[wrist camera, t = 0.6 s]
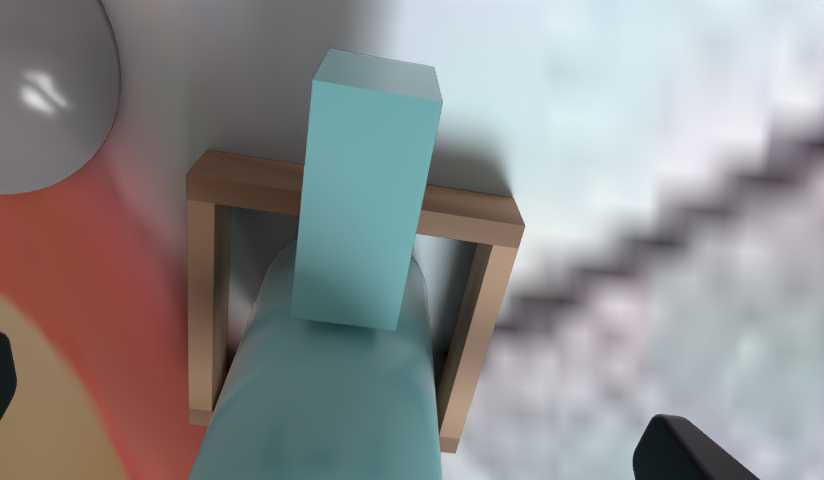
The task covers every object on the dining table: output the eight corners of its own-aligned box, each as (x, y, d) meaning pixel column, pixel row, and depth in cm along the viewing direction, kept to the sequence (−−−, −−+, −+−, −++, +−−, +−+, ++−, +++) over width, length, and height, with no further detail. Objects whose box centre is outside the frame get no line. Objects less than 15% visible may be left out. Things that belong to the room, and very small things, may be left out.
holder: (451, 414, 24) (455, 453, 22) (205, 386, 23) (189, 424, 21) (513, 198, 19) (525, 226, 17) (206, 149, 18) (186, 174, 16)
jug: (412, 371, 23) (419, 630, 14) (258, 352, 22) (174, 611, 14) (485, 56, 17) (569, 185, 9) (280, 18, 16) (156, 119, 8)
